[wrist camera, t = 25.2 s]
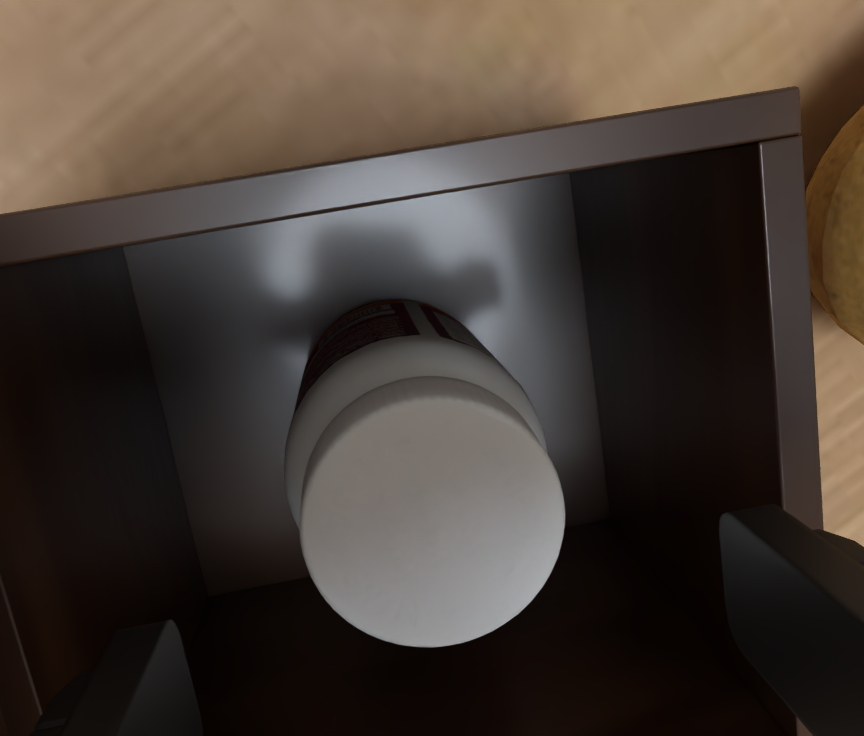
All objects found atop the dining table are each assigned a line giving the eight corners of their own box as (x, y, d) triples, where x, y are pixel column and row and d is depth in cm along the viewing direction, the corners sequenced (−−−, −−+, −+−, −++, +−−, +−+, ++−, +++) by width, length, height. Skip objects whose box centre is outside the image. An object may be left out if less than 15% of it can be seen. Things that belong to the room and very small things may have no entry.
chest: (583, 139, 26) (801, 85, 13) (627, 526, 29) (838, 775, 16) (96, 218, 25) (-159, 239, 12) (194, 610, 28) (68, 944, 15)
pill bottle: (288, 465, 26) (244, 657, 15) (318, 280, 25) (294, 344, 14) (470, 491, 27) (553, 692, 16) (507, 314, 26) (624, 399, 15)
